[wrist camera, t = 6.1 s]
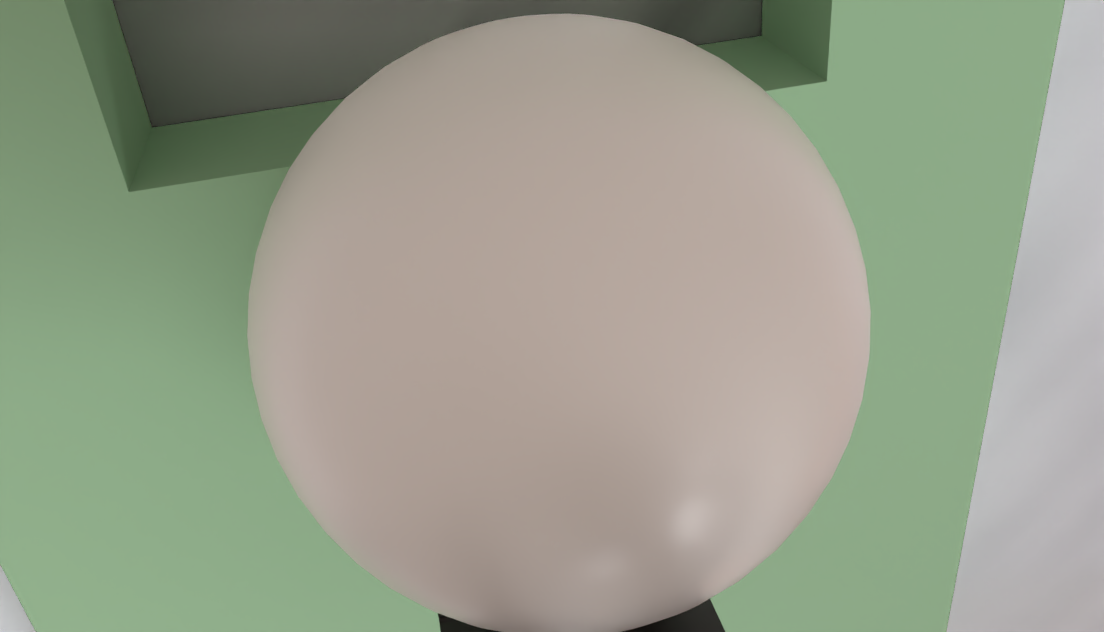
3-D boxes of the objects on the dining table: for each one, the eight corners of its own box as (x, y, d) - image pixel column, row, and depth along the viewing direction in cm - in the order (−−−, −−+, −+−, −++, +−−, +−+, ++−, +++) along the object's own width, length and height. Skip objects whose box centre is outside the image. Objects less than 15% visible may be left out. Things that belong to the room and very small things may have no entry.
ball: (783, 514, 12) (704, 75, 13) (1078, 639, 7) (931, -147, 7) (333, 609, 12) (252, 140, 12) (259, 833, 6) (108, -54, 6)
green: (1087, -891, 9) (1442, -1166, 6) (876, 654, 21) (970, 805, 18) (-587, -864, 8) (-1154, -1234, 5) (200, 819, 19) (182, 1018, 16)
